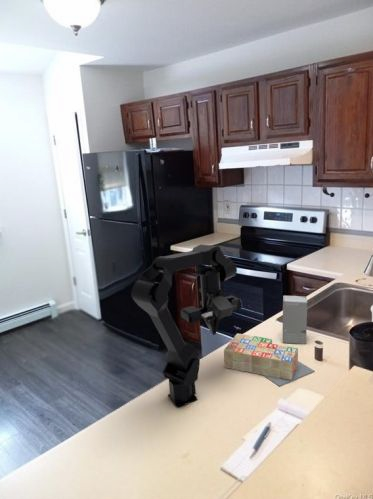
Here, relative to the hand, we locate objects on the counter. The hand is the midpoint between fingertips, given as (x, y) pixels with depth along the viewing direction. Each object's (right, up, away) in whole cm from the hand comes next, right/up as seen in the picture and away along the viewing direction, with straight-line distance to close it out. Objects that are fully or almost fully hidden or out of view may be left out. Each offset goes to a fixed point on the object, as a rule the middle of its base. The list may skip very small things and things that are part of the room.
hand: (213, 334), depth 115 cm
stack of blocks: (+13, -9, -1) cm, 16 cm away
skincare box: (+31, -7, +20) cm, 37 cm away
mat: (+21, -11, +3) cm, 24 cm away
